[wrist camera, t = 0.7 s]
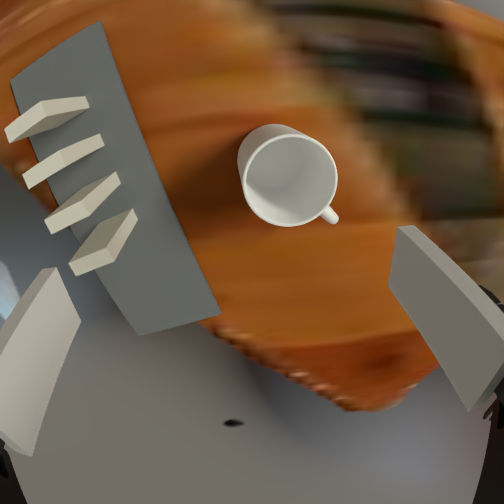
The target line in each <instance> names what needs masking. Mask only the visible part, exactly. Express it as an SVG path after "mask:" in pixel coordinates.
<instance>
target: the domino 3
mask: <svg viewBox="0 0 504 504" xmlns="http://www.w3.org/2000/svg"><path fill="white" fill-rule="evenodd" d="M120 184H121V182H120V180H119V178H118V175H117V173H116V171H115V172H113V173H111V174H109V175H107V176H105V177H103V178H101V179H99V180H97V181H95V182H93V183H91V184H89V185H87V186H85V187H83V188H81V189H80V190H79V191H78V192H77V193H75V194H74V195H73V196H72V197H70V198H69V199H68V200H67V201H66V202H64V203H63V204H62V205H61V206H60V207H58V208H57V209H56V210H55V211H54V212H53V213H52V214H50V215H49V216H48V217H47V218H46V219H45V220H44V221H45V223H46V225H47V227H48V228H49V230H50V232H51V234H53V233H55V232H57V231H59V230H61V229H63V228H65V227H67V226H69V225H71V224H73V223H75V222H77V221H80V220H82V219H84V218H86V217H88V216H90V215H91V214H92V213H93V212H94V210H95V209H96V208H97V207H98V206H99V205H100V204H101V203H102V202H103V201H104V200H105V199H106V198H107V197H108V196H109V195H110V194H111V193H112V192H113V191H114V190H115V189H116V188H117V187H118V186H119V185H120Z"/></svg>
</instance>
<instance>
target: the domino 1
mask: <svg viewBox="0 0 504 504" xmlns="http://www.w3.org/2000/svg"><path fill="white" fill-rule="evenodd" d="M89 108H90V107H89V105H88V102H87V99H86V96H81V97H70V98H61V99H52V100H44V101H40V102H39V103H37V104H36V105H34V106H33V107H32V108H30V109H29V110H28V111H26V112H25V113H24V114H22V115H21V116H20V117H19V118H17V119H16V120H15V121H14V122H12V123H11V124H10V125H9V126H7V127H6V128H5V132H6V135H7V138H8V141H9V143H12V142H15V141H18V140H20V139H23V138H26V137H29V136H32V135H35V134H38V133H41V132H44V131H47V130H50V129H54V128H57V127H59V126H60V125H62V124H63V123H65V122H67V121H68V120H70V119H72V118H73V117H75V116H77V115H78V114H80V113H82V112H83V111H85V110H87V109H89Z"/></svg>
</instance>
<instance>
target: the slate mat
mask: <svg viewBox="0 0 504 504" xmlns="http://www.w3.org/2000/svg"><path fill="white" fill-rule="evenodd" d="M10 82H11V86H12V89H13V92H14V96H15V99H16V102H17V105H18V108H19V111H20V114H21V115H22V114H24V113H25V112H26V111H28V110H29V109H30V108H32V107H33V106H34V105H36V104H37V103H39V102H40V101H44V100H52V99H61V98H70V97H81V96H86V99H87V102H88V105H89V107H90V108H89V109H87V110H85V111H83V112H82V113H80V114H78V115H77V116H75V117H73V118H72V119H70V120H68V121H67V122H65V123H63V124H62V125H60V126H59V127H57V128H54V129H50V130H47V131H44V132H41V133H38V134H35V135H32V136H29V139H30V141H31V144H32V146H33V149H34V151H35V154H36V156H37V159H38V161H39V163H40V162H42V161H43V160H45V159H46V158H48V157H49V156H51V155H52V154H54V153H56V152H57V151H59V150H61V149H63V148H65V147H68V146H70V145H72V144H75V143H77V142H79V141H82V140H84V139H87V138H89V137H92V136H94V135H97V134H100V135H101V138H102V140H103V143H104V145H105V146H103V147H101V148H99V149H97V150H95V151H93V152H91V153H89V154H88V155H86V156H84V157H82V158H80V159H78V160H77V161H75V162H73V163H71V164H69V165H68V166H66V167H64V168H63V169H61V170H59V171H57V172H56V173H54V174H52V175H51V176H49V177H47V178H46V179H47V182H48V184H49V186H50V188H51V190H52V192H53V194H54V196H55V199H56V201H57V203H58V205H59V207H60V206H61V205H62V204H63V203H64V202H66V201H67V200H68V199H69V198H70V197H72V196H73V195H74V194H75V193H77V192H78V191H79V190H80V189H81V188H83V187H85V186H87V185H89V184H91V183H93V182H95V181H97V180H99V179H101V178H103V177H105V176H107V175H109V174H111V173H113V172H115V171H116V173H117V175H118V178H119V180H120V182H121V184H120V185H119V186H118V187H117V188H116V189H115V190H114V191H113V192H112V193H111V194H110V195H109V196H108V197H107V198H106V199H105V200H104V201H103V202H102V203H101V204H100V205H99V206H98V207H97V208H96V209H95V210H94V212H93V213H92V214H91V215H90V216H88V217H86V218H84V219H82V220H80V221H77V222H75V223H73V224H71V225H69V226H70V228H71V230H72V232H73V234H74V235H75V237H76V239H77V241H78V242H79V245H80V246H81V245H82V244H83V243H84V242H85V240H86V239H87V238H88V236H89V235H90V234H91V233H92V231H93V230H94V229H95V228H96V226H97V225H98V224H99V223H100V222H102V221H104V220H106V219H109V218H111V217H113V216H116V215H118V214H120V213H123V212H125V211H127V210H130V209H132V208H133V210H134V212H135V214H136V217H137V219H138V221H137V222H136V224H135V226H134V227H133V229H132V231H131V233H130V234H129V236H128V238H127V240H126V241H125V243H124V245H123V247H122V249H121V250H120V252H119V254H118V256H117V258H116V260H115V261H114V262H112V263H109V264H107V265H104V266H101V267H99V268H96V269H94V270H95V272H96V274H97V275H98V277H99V278H100V280H101V282H102V283H103V285H104V286H105V288H106V289H107V291H108V293H109V294H110V296H111V297H112V299H113V300H114V302H115V303H116V305H117V306H118V308H119V309H120V311H121V312H122V314H123V315H124V317H125V318H126V320H127V321H128V323H129V324H130V325H131V327H132V328H133V330H134V331H135V332H136V334H137V335H138V336H142V335H146V334H150V333H154V332H157V331H161V330H165V329H169V328H173V327H176V326H180V325H184V324H187V323H191V322H195V321H198V320H202V319H205V318H209V317H212V316H216V315H219V314H221V310H220V308H219V306H218V304H217V302H216V300H215V298H214V296H213V294H212V291H211V289H210V287H209V285H208V283H207V281H206V279H205V277H204V275H203V273H202V271H201V269H200V266H199V264H198V262H197V260H196V258H195V256H194V254H193V251H192V249H191V247H190V245H189V243H188V241H187V238H186V236H185V234H184V232H183V230H182V227H181V225H180V223H179V221H178V219H177V216H176V214H175V212H174V210H173V207H172V205H171V203H170V200H169V198H168V196H167V193H166V191H165V189H164V187H163V184H162V182H161V179H160V177H159V175H158V172H157V170H156V168H155V165H154V163H153V160H152V158H151V156H150V153H149V151H148V148H147V146H146V143H145V141H144V138H143V136H142V133H141V131H140V128H139V126H138V123H137V121H136V118H135V115H134V113H133V110H132V108H131V105H130V102H129V100H128V97H127V94H126V92H125V89H124V86H123V84H122V81H121V78H120V75H119V72H118V70H117V67H116V64H115V61H114V58H113V55H112V53H111V50H110V47H109V44H108V41H107V38H106V35H105V32H104V29H103V26H102V23H101V21H98V22H96V23H94V24H92V25H90V26H89V27H87V28H85V29H83V30H82V31H80V32H78V33H77V34H75V35H73V36H72V37H70V38H69V39H67V40H65V41H64V42H62V43H61V44H59V45H58V46H56V47H55V48H53V49H52V50H50V51H49V52H47V53H46V54H44V55H43V56H42V57H40V58H39V59H37V60H36V61H35V62H33V63H32V64H31V65H29V66H28V67H27V68H26V69H24V70H23V71H22V72H20V73H19V74H18V75H17V76H15V77H14V78H13V79H12V80H11V81H10Z"/></svg>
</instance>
